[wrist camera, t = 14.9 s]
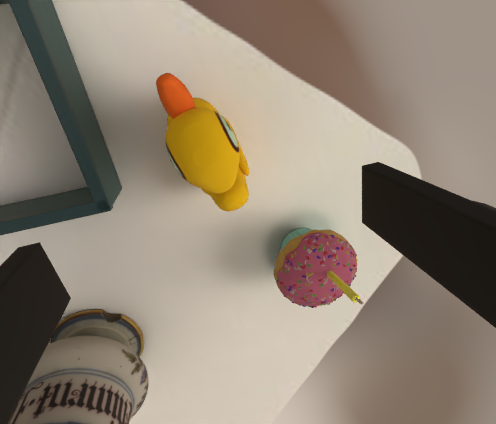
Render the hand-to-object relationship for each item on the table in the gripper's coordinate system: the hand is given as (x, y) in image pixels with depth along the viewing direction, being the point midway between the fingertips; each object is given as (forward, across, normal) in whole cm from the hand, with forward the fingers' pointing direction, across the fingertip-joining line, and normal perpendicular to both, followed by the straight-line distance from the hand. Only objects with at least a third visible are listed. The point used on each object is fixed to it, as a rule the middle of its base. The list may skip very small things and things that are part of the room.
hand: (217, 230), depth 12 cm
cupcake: (+17, +9, -14) cm, 23 cm away
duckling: (+17, +1, +1) cm, 17 cm away
